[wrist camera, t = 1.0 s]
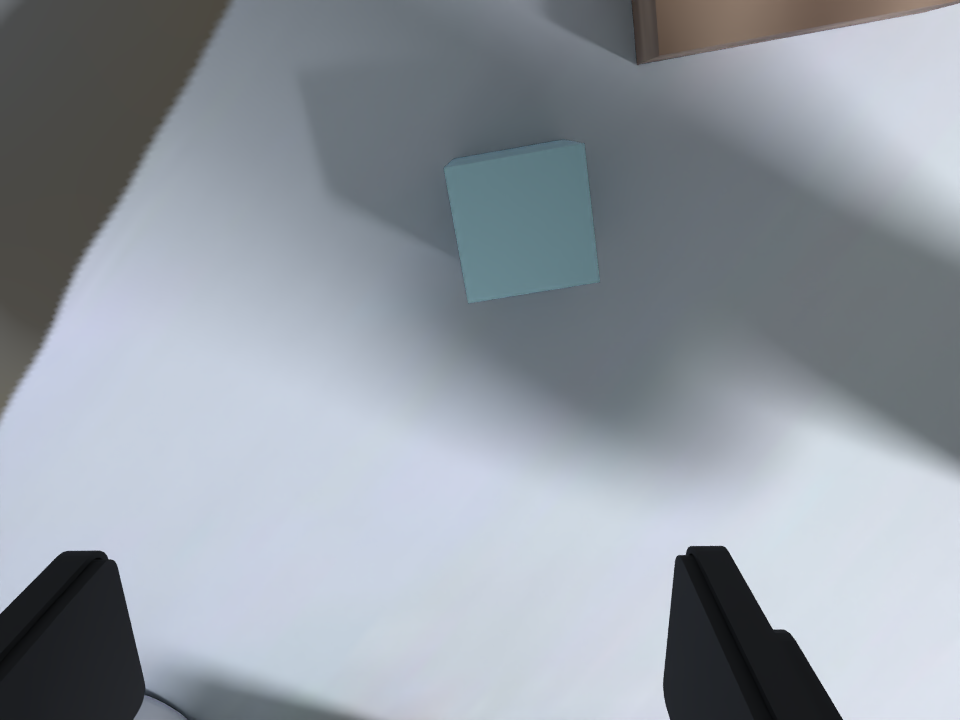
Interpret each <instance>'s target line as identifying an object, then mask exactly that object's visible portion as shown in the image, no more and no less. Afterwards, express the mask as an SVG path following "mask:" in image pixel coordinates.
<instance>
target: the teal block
mask: <svg viewBox="0 0 960 720" xmlns="http://www.w3.org/2000/svg"><path fill="white" fill-rule="evenodd" d="M444 173H445V178H446V184H447V190H448V195H449V201H450V206H451V212H452V217H453V223H454V228H455V234H456V239H457V245H458V250H459V256H460V261H461V267H462V273H463V278H464V284H465V289H466V295H467V300H468V303H474V302H480V301H487V300H493V299H499V298H505V297H511V296H518V295H524V294H530V293H536V292H542V291H549V290H555V289H561V288H567V287H573V286H579V285H586V284H592V283H598V282H600V278H599V269H598V260H597V251H596V242H595V233H594V224H593V215H592V206H591V197H590V189H589V180H588V171H587V162H586V153H585V144H584V143H580V142H575V141H570V140H565V139H562V140H557V141H551V142H545V143H540V144H534V145H528V146H523V147H517V148H512V149H506V150H500V151H495V152H489V153H483V154H478V155H472V156H466V157H461V158H455V159H453V160H452V161H451V162H450V163H449V164H448V165H446V166H445V167H444Z"/></svg>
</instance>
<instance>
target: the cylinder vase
mask: <svg viewBox="0 0 960 720" xmlns="http://www.w3.org/2000/svg"><path fill="white" fill-rule="evenodd" d="M134 720H188V719H187V718H185V717H184V716H183V715H182V714H180V713H179V712H178V711H176V710H175V709H173V708H172V707H170V706H168V705H167V704H165V703H163V702H161V701H159V700H157V699H154V698H152V697H149V696H147V695H144V699H143V702H142V705H141V707H140V709H139V711H138V713H137V715H136V716H135V718H134Z"/></svg>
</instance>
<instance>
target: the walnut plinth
mask: <svg viewBox="0 0 960 720" xmlns="http://www.w3.org/2000/svg"><path fill="white" fill-rule="evenodd" d="M958 3H960V0H632V11H633V23H634V35H635V47H636V58H637V65H639V64H644V63H650V62H655V61H661V60H666V59H672V58H677V57H682V56H688V55H693V54H699V53H704V52H710V51H715V50H721V49H726V48H732V47H737V46H743V45H748V44H753V43H759V42H764V41H770V40H775V39H781V38H786V37H792V36H797V35H803V34H808V33H814V32H819V31H824V30H830V29H835V28H841V27H846V26H852V25H857V24H863V23H868V22H874V21H879V20H885V19H890V18H895V17H901V16H906V15H912V14H917V13H923V12H927V11H931V10H935V9H939V8H942V7H946V6H950V5H954V4H958Z"/></svg>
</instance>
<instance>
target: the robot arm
mask: <svg viewBox="0 0 960 720" xmlns="http://www.w3.org/2000/svg"><path fill="white" fill-rule="evenodd" d="M663 690H664V698H665V703H666V707H667V711H668V714H669V717H670V720H843V719H842V717H841V716H840V714H839V712H838V711H837V709H836V707H835V706H834V704H833V702H832V701H831V699H830V697H829V696H828V694H827V692H826V691H825V689H824V687H823V686H822V684H821V682H820V681H819V679H818V677H817V676H816V674H815V672H814V671H813V669H812V667H811V666H810V664H809V662H808V661H807V659H806V657H805V656H804V654H803V652H802V651H801V649H800V647H799V646H798V644H797V642H796V641H795V639H794V638H793V637H792V635H791V634H790V633H789V632H787V631H786V630H773V629H772V627H771V626H770V624H769V622H768V620H767V618H766V617H765V615H764V613H763V611H762V610H761V608H760V606H759V604H758V603H757V601H756V599H755V597H754V596H753V594H752V592H751V590H750V589H749V587H748V585H747V583H746V581H745V580H744V578H743V576H742V574H741V573H740V571H739V569H738V567H737V566H736V564H735V562H734V560H733V559H732V557H731V555H730V553H729V552H728V550H727V549H726V547H724V546H690V547H688V549H687V552H686V555H678V556H677V557H676V560H675V568H674V578H673V588H672V598H671V608H670V618H669V628H668V639H667V649H666V659H665V669H664V679H663ZM144 695H145V682H144V678H143V673H142V669H141V665H140V660H139V656H138V652H137V648H136V643H135V639H134V635H133V631H132V626H131V622H130V618H129V614H128V609H127V605H126V601H125V596H124V592H123V588H122V584H121V579H120V575H119V571H118V567H117V564H116V563H115V561H114V560H108V557H107V555H106V554H105V553H104V552H102V551H66V552H63V553H61V554H60V555H59V556H57V557H56V558H55V559H54V560H53V561H52V562H51V563H50V564H49V565H48V566H47V567H46V569H45V570H44V571H43V572H42V573H41V574H40V575H39V576H38V577H37V578H36V579H35V580H34V581H33V582H32V583H31V584H30V585H29V586H28V587H27V588H26V589H25V590H24V591H23V592H22V593H21V594H20V595H19V596H18V597H17V598H16V599H15V600H14V601H13V602H12V603H11V604H10V605H9V606H8V607H7V608H6V609H5V610H4V611H3V612H2V613H1V614H0V720H134V718H135V716H136V715H137V713H138V711H139V709H140V707H141V705H142V702H143V699H144Z"/></svg>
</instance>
